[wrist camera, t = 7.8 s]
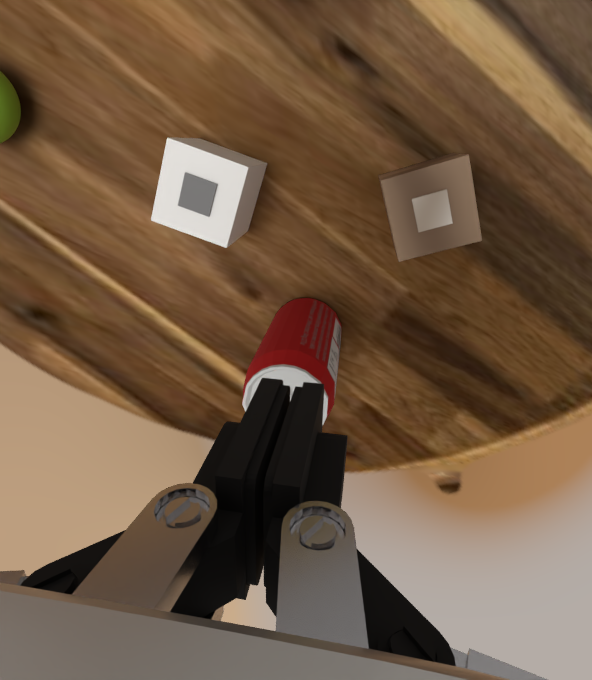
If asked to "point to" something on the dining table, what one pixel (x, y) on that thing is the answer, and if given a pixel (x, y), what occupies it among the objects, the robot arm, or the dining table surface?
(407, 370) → the dining table surface
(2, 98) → the snail figurine
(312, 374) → the soda can
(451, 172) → the walnut block
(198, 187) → the white block
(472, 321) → the dining table surface
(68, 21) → the dining table surface
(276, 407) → the robot arm
